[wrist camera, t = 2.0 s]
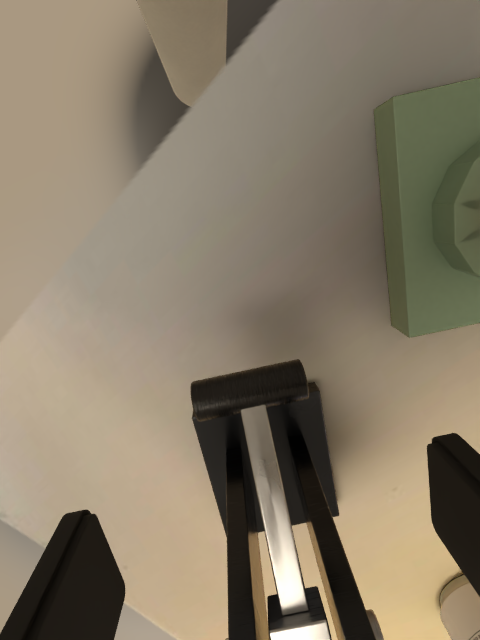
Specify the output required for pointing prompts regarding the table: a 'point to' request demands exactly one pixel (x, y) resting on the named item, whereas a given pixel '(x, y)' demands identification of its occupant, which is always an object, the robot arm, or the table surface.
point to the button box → (431, 206)
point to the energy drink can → (460, 610)
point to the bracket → (303, 506)
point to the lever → (269, 485)
